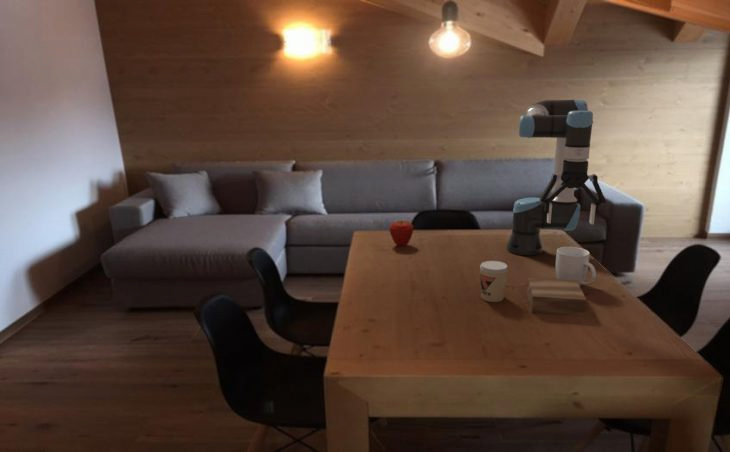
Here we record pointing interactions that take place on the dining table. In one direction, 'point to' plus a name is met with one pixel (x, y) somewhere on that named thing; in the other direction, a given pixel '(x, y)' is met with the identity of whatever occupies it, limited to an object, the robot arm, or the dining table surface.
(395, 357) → the dining table surface
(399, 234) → the apple
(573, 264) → the mug
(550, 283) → the riser
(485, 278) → the coffee cup
